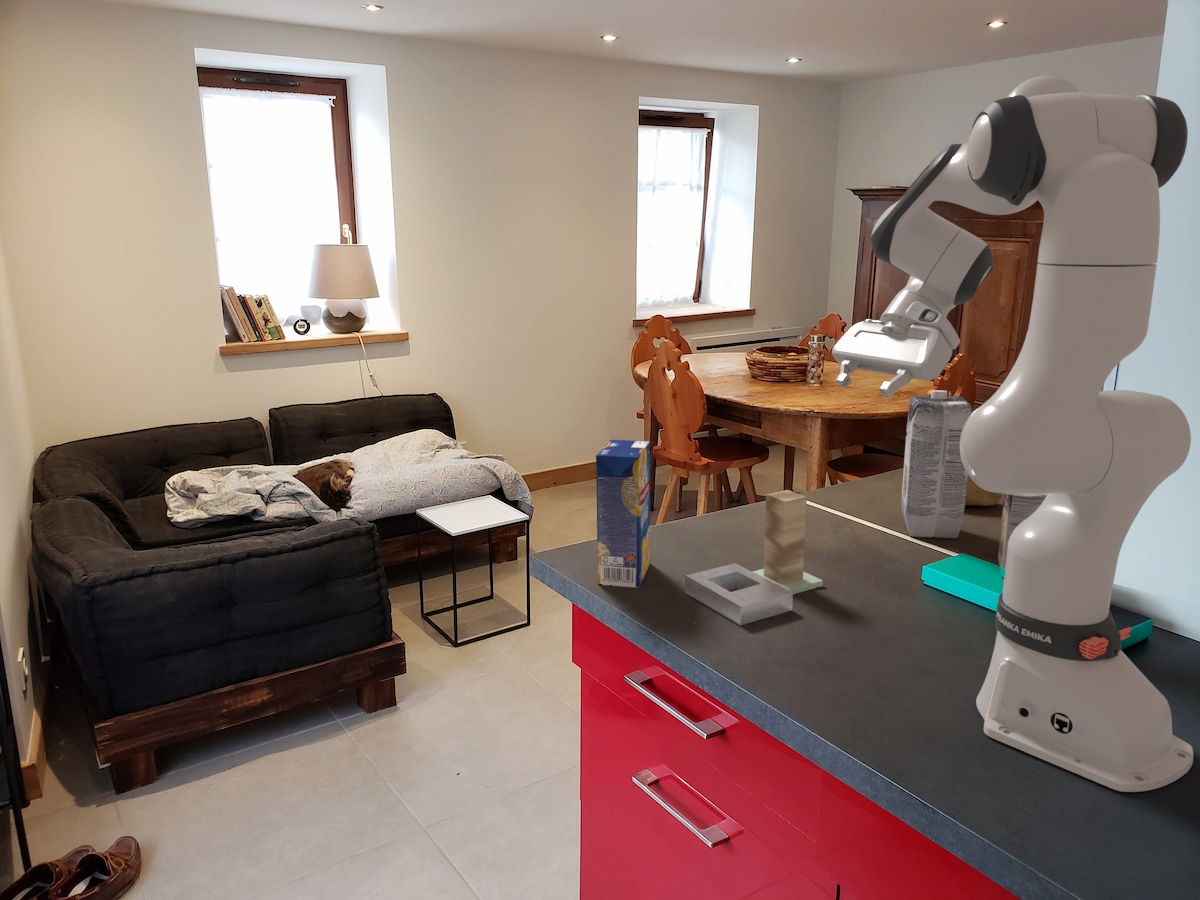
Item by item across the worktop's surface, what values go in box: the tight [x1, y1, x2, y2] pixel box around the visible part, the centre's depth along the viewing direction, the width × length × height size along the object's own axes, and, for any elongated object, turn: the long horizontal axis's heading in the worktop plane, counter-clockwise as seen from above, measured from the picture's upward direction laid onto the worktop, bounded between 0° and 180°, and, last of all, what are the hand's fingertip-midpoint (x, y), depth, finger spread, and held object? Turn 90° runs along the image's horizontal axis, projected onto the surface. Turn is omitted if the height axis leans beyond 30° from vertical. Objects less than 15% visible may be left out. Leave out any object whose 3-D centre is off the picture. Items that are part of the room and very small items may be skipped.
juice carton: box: [900, 389, 974, 539], centre depth 166 cm, size 9×10×27 cm
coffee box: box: [997, 494, 1047, 568], centre depth 148 cm, size 9×6×16 cm
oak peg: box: [763, 489, 808, 584], centre depth 144 cm, size 4×4×14 cm
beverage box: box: [595, 439, 651, 588], centre depth 148 cm, size 7×11×22 cm, turn 167°
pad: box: [752, 568, 824, 595], centre depth 146 cm, size 9×9×1 cm
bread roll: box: [965, 475, 1003, 507], centre depth 184 cm, size 10×15×8 cm, turn 79°
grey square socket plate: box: [684, 562, 794, 626], centre depth 139 cm, size 14×10×3 cm
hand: (861, 389), depth 142 cm, fingers open, 8 cm apart
